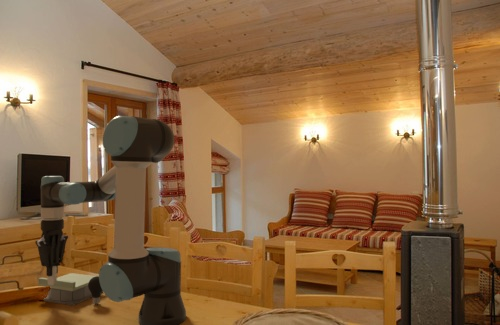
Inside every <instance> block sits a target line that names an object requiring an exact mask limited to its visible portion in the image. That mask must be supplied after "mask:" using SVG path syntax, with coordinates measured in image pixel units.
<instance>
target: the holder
mask: <svg viewBox="0 0 500 325" xmlns="http://www.w3.org/2000/svg"><path fill="white" fill-rule="evenodd" d="M102 293H104V292H103V291H102V292H101V294H102ZM46 295H47V297H46V298H44V299H43V300H44V301H43V302H49V303H54V304H59V305H61V304H62V305H68V306H75V305H78V304H80V303H82V302H85V301H87V300H89V299H92V298H93V297H92V294H91V292H90V290H89V288H88V286H85V287H83V288H80V289H77V290H75V291H67V290H60V289H53V288H51V289H50V291H49V290H48V293H47V294H46Z"/></svg>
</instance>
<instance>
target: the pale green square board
mask: <svg viewBox="0 0 500 325" xmlns="http://www.w3.org/2000/svg"><path fill="white" fill-rule="evenodd" d="M96 276H97V275H91V274H90V275H89V274H81V273H74V272H69V273H67V274H64V275H61V276H58V277H57V284H56V285H48V277H39V278H38V287H39V286H50V288H53V289H60V290H67V291H75V290H77V289H80V288H83V287H85V286H88V283H89V281H90V280H91V279H92V278H93V277H96Z"/></svg>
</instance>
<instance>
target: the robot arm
mask: <svg viewBox="0 0 500 325" xmlns="http://www.w3.org/2000/svg"><path fill="white" fill-rule="evenodd" d="M174 145H175V135H174V132H173V130H172V128H171V126H170V125H168V124H167V123H166V122H165V121H162V120H160V119H156V118H146V117H139V116H133V115H118V116H115V117H113V118H112V119H111V120H110V121H109V122H108V123H107V124H106V126H105V129H104V130H103V135H102V146H103V148H104V151H105V153H106V154H107V155H109V156H110V162H111V164H112V165H113V167H111V168H110V169H109V170H107V171H106V172H105V173H104V174H103V175H102V176H100V178H98V179H97V180H95V181H94V180H93V181H92V180H91V181H70V182H69V181H67V182H65V178H64V177H63V176H62V175H45V176H42V177H41V180H40V181H41V183H40V219H41V220H40V230H41V237H40V239H39V240H35V245H36V247H37V250H38V256H39V260H40V265H41V266H42V267H45V268H46V274H45V275H46V277H47V278H48V285H56V284H57V278H58V277H57V275H58V274H59V273H58V272H59V271H58V270H59V267H60V265H61V263H63V261H64V260H63V259H64V257H65V256H64V255H65V249H66V243H67V241H68V239H69V236H68V235H65V234H64V232H63V229H64V228H65V219H64V217H65V205H68V206H69V205H70V206H72V205H79V204H85V203H95V202H98V203H99V202H108V201H113V200H115V201H114V228H113V229H114V232H113V233H114V234H113V235H114V237H113V249H112V250H110V251H109V252H108V254H107V256H108V257H107V258H108V259H107V262H105V263H104V264H102V265H101V267H100V268H99V270H98V276H99V282H100V285H101V288H102V290H103V293H104V295H105V296H106V297H107V298H108V299H109V300H110V301H113V302H114V303H115V302H116V303H119V302H124V301H130V300H132V299H134V298H137V297H140V296H143V300H142V303H141V306H140V309H139V311H138V323H139V324H140V325H180V324H182V323H184V322H185V321H186V318H187V310H186V307H185V304H184V301H183V297H182V292H181V285H182V282H181V281H182V280H181V279H182V276H181V275H182V260H181V257H182V256H181V252H180V251H179V250H178V249H175V248H171V247H146V248H145V245H144V244H145V213H146V184H147V183H146V180H147V168H148V167H150V166H151V165H152V164H158V163H160V162H161V161H162V160H164V159H165V158H166V157H167V156H168V155H169V154H170V153H171V152H172V150H173V148H174Z"/></svg>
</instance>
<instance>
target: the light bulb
mask: <svg viewBox="0 0 500 325" xmlns="http://www.w3.org/2000/svg"><path fill="white" fill-rule="evenodd" d="M95 276H96V277H93V278H92V279H91V280H90V281H89V283H88V288H89V290H90V292H91V294H92V297H91V298H92V303H93V304H94V305H95V306H97V305H98V304H99V303H101V296H102V293H101V292H102V291H103V290H102V288H101V285H100V282H99V275H95Z"/></svg>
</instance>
